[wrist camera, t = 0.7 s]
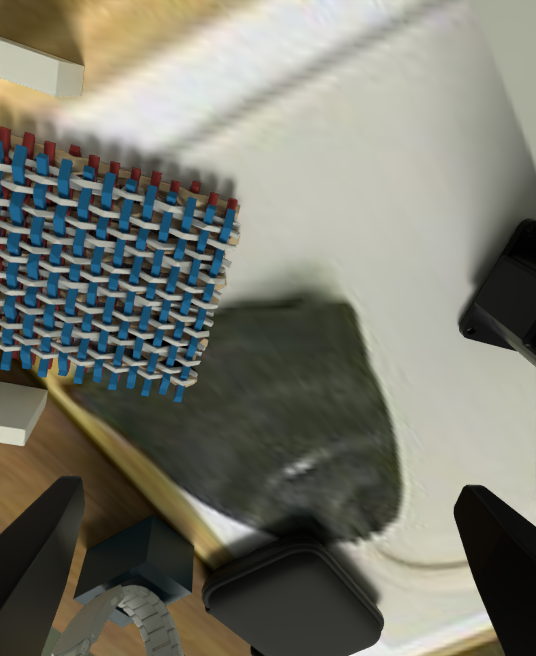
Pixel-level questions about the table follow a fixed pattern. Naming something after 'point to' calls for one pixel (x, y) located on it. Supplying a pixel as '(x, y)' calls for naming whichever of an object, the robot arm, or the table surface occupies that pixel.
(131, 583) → the watch
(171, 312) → the woven mat
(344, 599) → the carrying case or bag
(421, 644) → the table surface
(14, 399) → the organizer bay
